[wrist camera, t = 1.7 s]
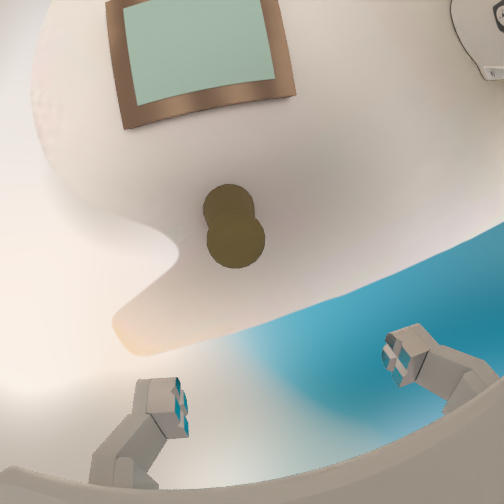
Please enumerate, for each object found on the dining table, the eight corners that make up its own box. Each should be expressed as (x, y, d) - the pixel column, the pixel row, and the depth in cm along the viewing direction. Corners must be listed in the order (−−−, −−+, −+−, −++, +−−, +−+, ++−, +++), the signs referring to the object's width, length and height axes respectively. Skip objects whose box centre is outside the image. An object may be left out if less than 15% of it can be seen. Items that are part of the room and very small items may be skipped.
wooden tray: (265, -19, 22) (271, -31, 19) (288, 97, 29) (297, 94, 26) (112, 10, 21) (104, 1, 18) (131, 128, 28) (123, 129, 25)
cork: (264, 209, 35) (287, 247, 25) (227, 242, 36) (236, 291, 26) (229, 173, 32) (239, 198, 23) (192, 209, 34) (186, 248, 24)
